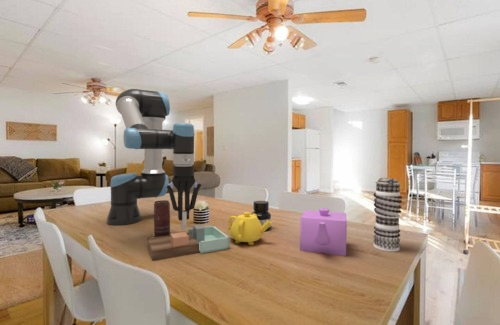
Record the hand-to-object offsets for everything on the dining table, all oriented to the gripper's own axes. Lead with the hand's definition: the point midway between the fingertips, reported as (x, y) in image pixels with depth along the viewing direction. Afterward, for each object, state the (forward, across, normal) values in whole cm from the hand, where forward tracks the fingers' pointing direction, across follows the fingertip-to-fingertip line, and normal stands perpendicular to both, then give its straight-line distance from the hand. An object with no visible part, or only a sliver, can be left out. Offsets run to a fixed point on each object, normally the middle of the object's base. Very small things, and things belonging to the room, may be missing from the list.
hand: (183, 228), depth 98 cm
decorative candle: (+5, +65, -38) cm, 75 cm away
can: (+6, -5, +14) cm, 16 cm away
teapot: (+6, +24, -8) cm, 26 cm away
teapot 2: (+6, +44, -28) cm, 52 cm away
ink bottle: (+6, +36, +4) cm, 36 cm away
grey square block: (+3, +4, -1) cm, 5 cm away
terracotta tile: (+3, -4, -8) cm, 9 cm away
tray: (+6, +8, -4) cm, 11 cm away
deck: (+6, -5, -4) cm, 9 cm away
